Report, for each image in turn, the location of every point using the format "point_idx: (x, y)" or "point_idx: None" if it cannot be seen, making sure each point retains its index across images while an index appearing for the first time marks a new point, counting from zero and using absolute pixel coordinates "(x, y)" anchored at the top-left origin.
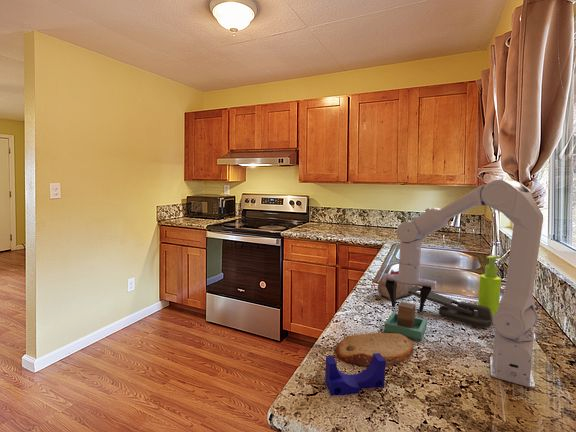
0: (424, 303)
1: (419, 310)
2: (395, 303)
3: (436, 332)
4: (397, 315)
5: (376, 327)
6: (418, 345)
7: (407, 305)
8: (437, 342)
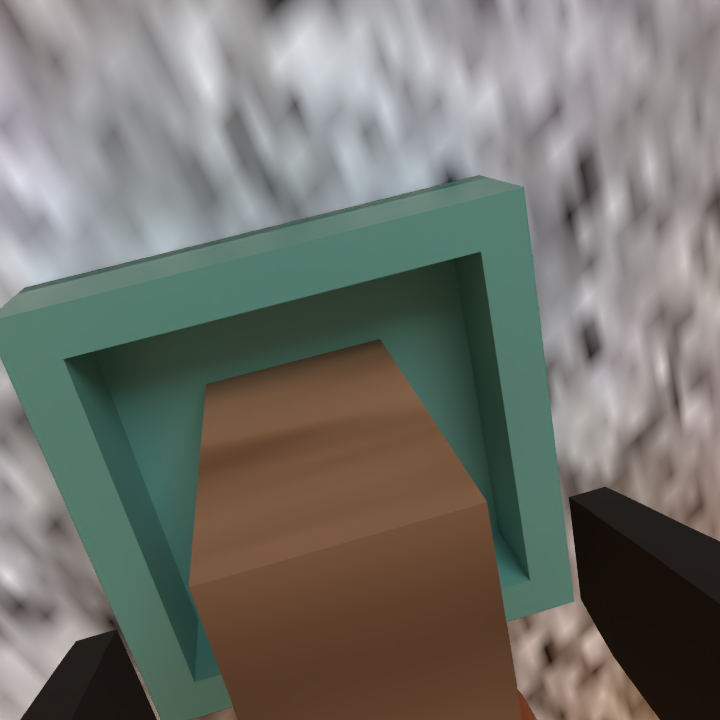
0: (713, 549)
1: (602, 629)
2: (118, 677)
3: (607, 221)
4: (100, 343)
5: (44, 628)
6: (538, 623)
7: (387, 674)
8: (660, 447)
